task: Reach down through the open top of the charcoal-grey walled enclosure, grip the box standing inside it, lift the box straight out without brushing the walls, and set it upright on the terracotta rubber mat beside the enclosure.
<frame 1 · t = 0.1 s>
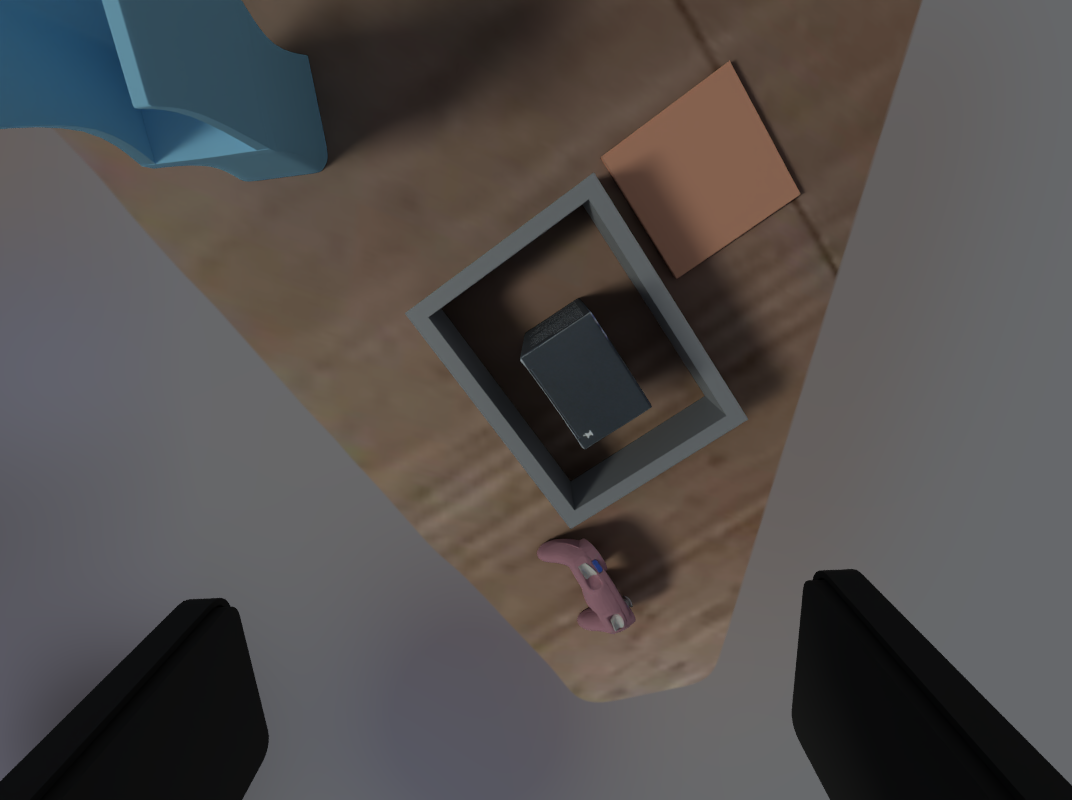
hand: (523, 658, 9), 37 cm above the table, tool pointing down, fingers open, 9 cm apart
video game controller: (584, 568, 51), on the table
enclosure: (576, 353, 45), on the table
vase: (270, 122, 40), on the table
box: (575, 352, 45), resting in enclosure
mat: (699, 176, 41), on the table
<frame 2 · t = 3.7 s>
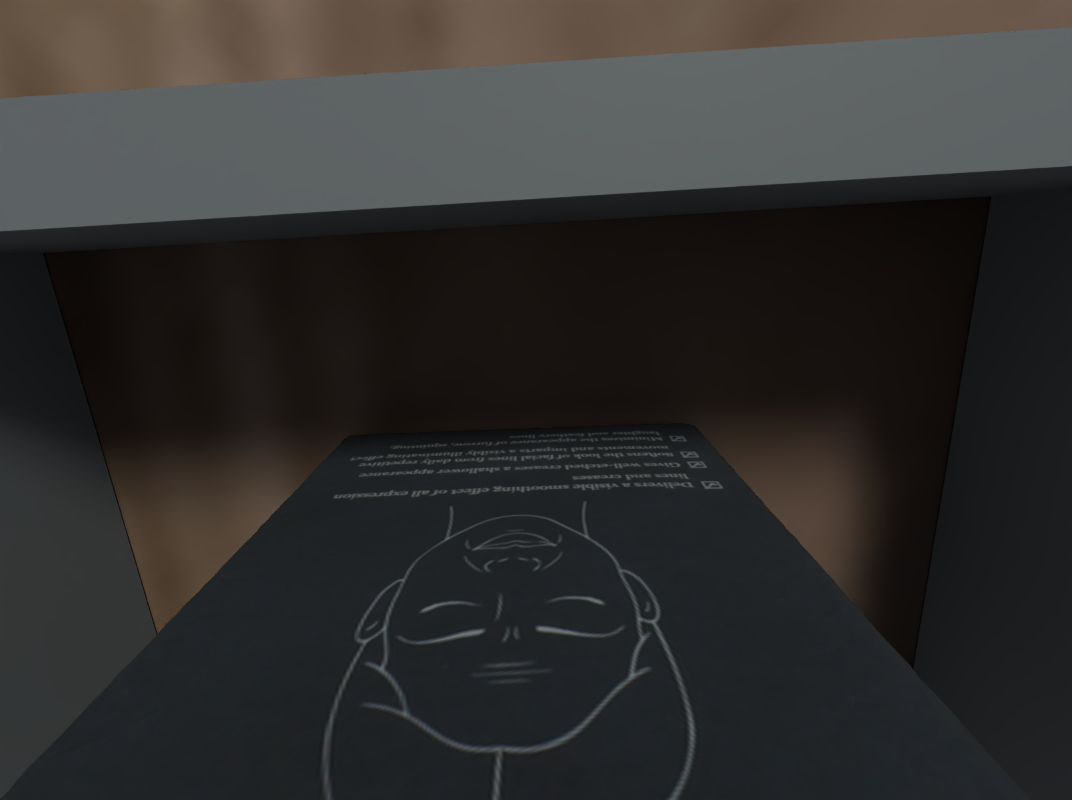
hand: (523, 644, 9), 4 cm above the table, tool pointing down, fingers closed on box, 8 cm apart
enclosure: (529, 537, 13), on the table
box: (527, 531, 13), resting in enclosure, touching gripper
when the fingers open (5 cm above the table, at t = 11.9 s): box drops 1 cm, resting on mat.
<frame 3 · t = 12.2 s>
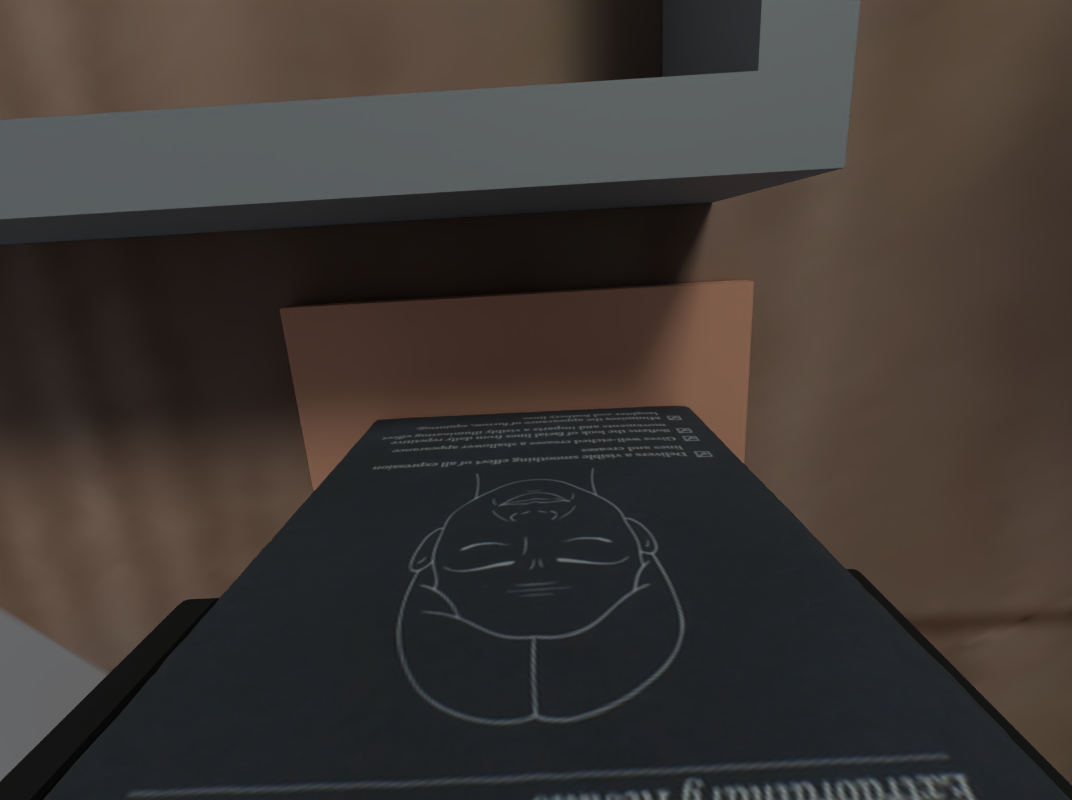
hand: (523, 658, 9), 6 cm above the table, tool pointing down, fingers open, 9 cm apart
box: (539, 507, 14), resting on mat
mat: (529, 499, 14), on the table
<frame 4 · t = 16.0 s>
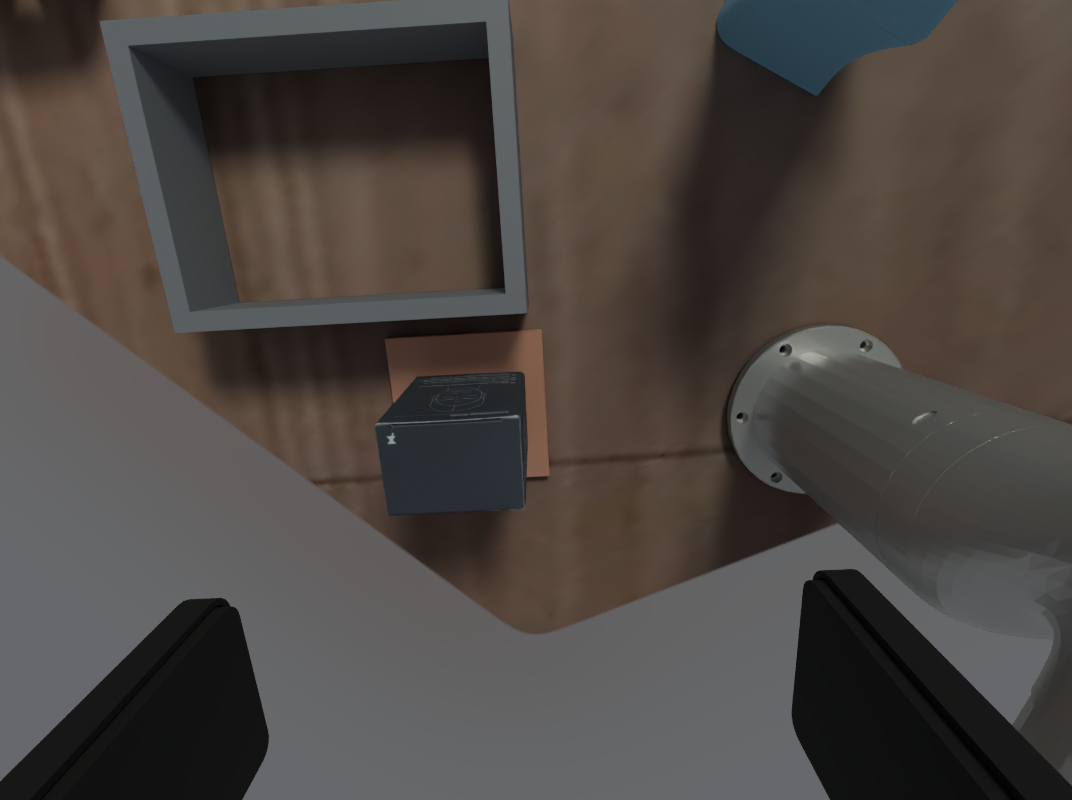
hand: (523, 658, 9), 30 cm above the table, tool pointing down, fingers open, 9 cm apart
enclosure: (359, 187, 35), on the table
vase: (796, 1, 32), on the table
box: (474, 409, 39), resting on mat
mat: (471, 407, 39), on the table
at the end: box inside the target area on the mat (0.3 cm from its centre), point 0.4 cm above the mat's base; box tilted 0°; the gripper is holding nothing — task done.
